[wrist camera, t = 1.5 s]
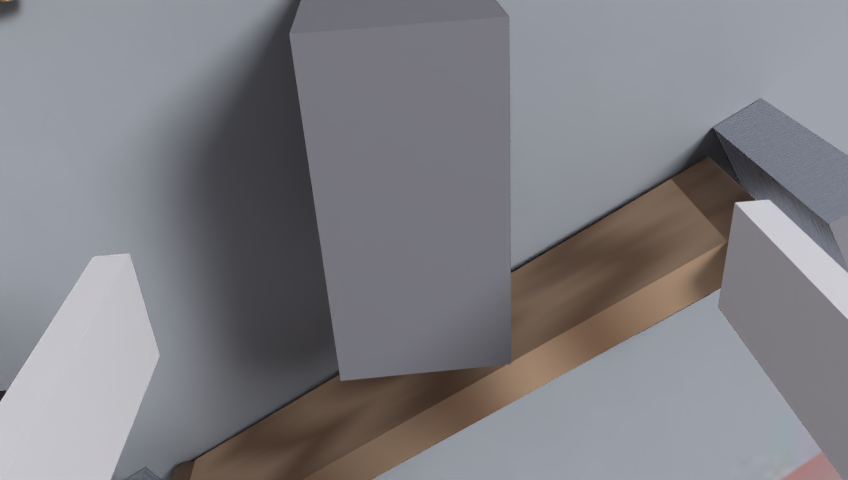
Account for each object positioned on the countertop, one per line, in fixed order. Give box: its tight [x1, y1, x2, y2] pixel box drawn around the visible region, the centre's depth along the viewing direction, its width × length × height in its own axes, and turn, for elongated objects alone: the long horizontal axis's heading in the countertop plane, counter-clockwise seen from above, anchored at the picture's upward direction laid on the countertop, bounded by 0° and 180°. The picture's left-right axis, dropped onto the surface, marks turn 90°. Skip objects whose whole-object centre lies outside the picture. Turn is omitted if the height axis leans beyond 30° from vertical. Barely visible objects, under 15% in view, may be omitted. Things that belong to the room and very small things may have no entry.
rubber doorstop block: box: [289, 0, 511, 381], centre depth 23 cm, size 5×10×9 cm, turn 4°
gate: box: [171, 156, 756, 480], centre depth 29 cm, size 27×3×7 cm, turn 124°
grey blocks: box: [126, 98, 848, 480], centre depth 29 cm, size 33×3×8 cm, turn 124°
